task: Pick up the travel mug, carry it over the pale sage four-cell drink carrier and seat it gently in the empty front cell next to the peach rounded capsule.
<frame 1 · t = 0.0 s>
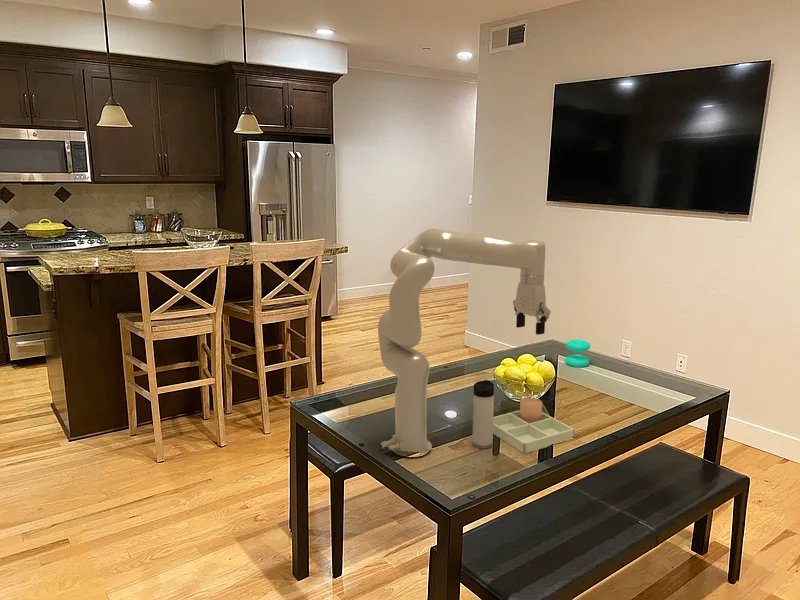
hand: (530, 330, 194), 31 cm above the table, fingers open, 9 cm apart
peach rounded capsule: (530, 424, 195), point 1 cm above the table, touching carrier
travel mug: (482, 444, 184), on the table
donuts: (576, 364, 255), on the table
carrier: (528, 435, 189), on the table
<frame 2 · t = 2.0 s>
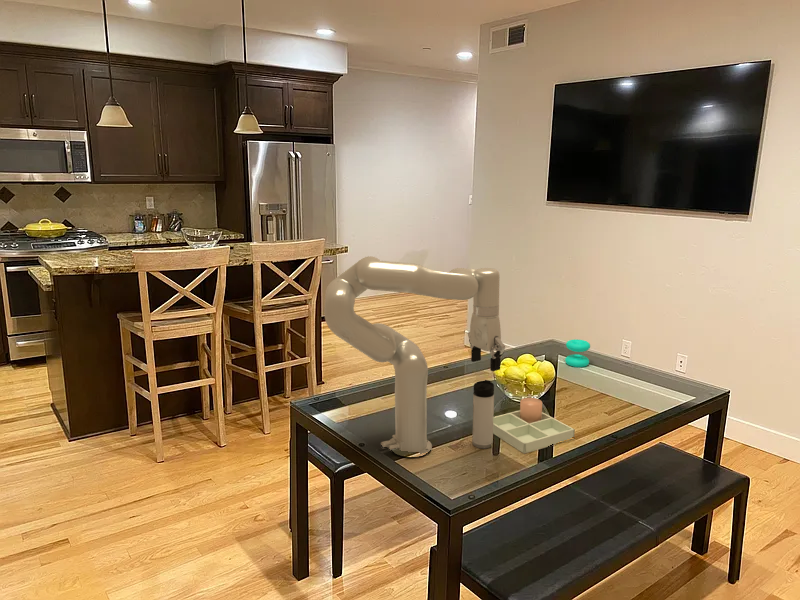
hand: (485, 365, 178), 26 cm above the table, fingers open, 9 cm apart
nothing on the table moved.
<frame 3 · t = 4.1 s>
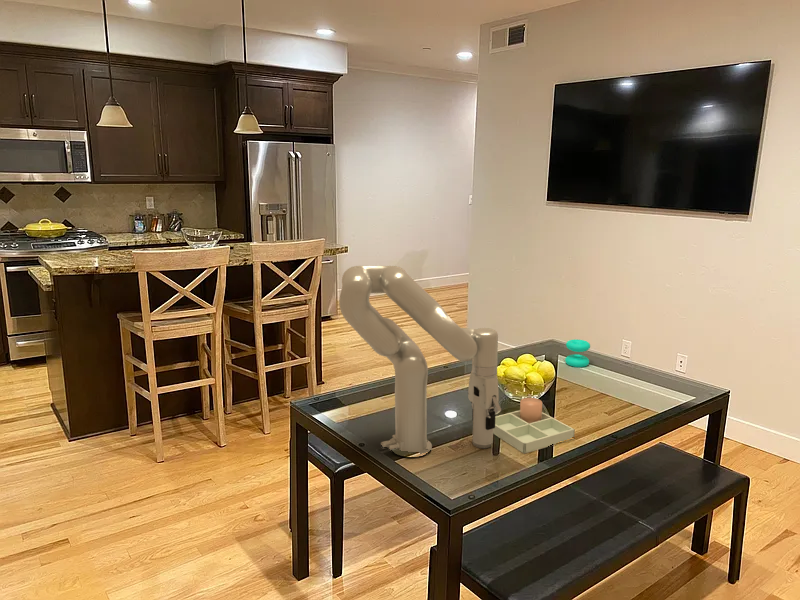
hand: (483, 423, 182), 7 cm above the table, fingers closed on travel mug, 6 cm apart
travel mug: (482, 444, 184), on the table, touching gripper
everything else where it was.
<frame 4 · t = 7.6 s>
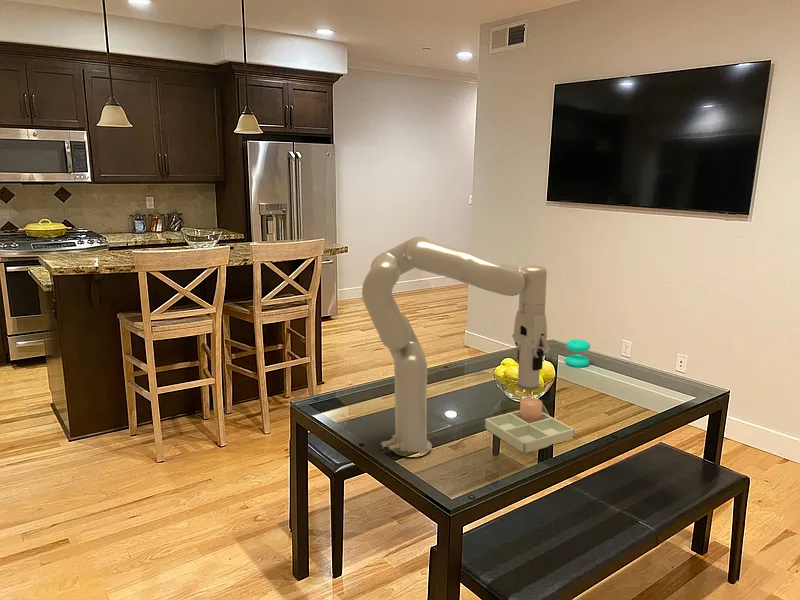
hand: (529, 365, 176), 26 cm above the table, fingers closed on travel mug, 6 cm apart
travel mug: (528, 387, 178), point 19 cm above the table, touching gripper
everything else where it was.
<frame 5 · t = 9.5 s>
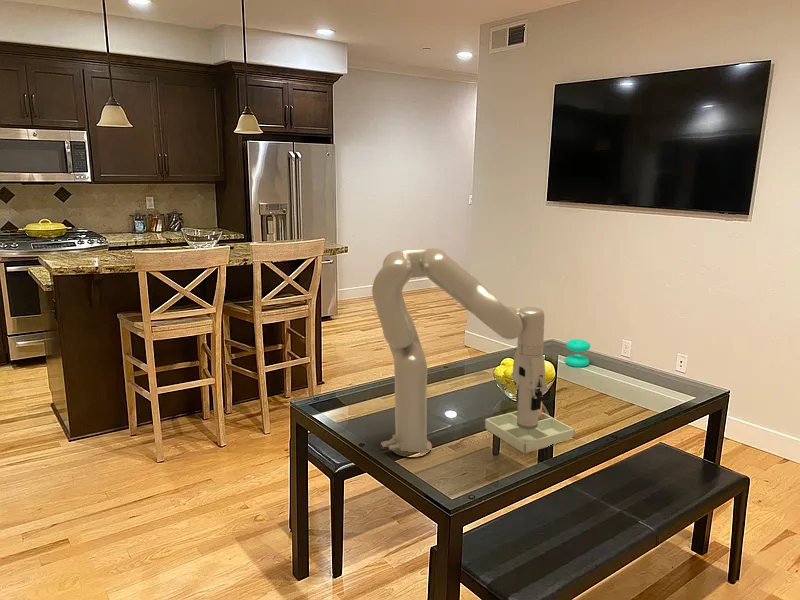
hand: (528, 404, 179), 13 cm above the table, fingers closed on travel mug, 6 cm apart
travel mug: (527, 425, 181), point 6 cm above the table, touching gripper
everything else where it was.
when the fingers open (8 cm above the table, at t = 11.1 s): travel mug stays where it is, resting on carrier.
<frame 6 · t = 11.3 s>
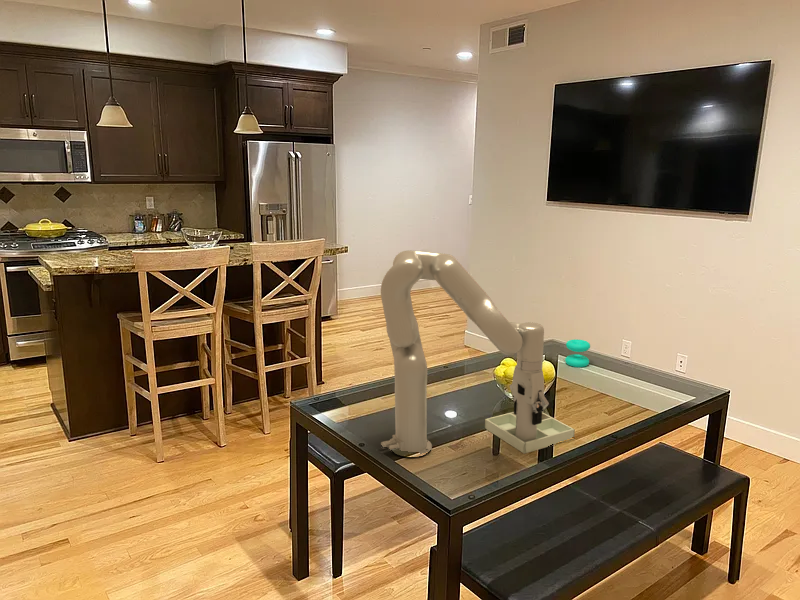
hand: (527, 418, 180), 9 cm above the table, fingers open, 8 cm apart
travel mug: (525, 443, 182), point 1 cm above the table, touching carrier
everything else where it was.
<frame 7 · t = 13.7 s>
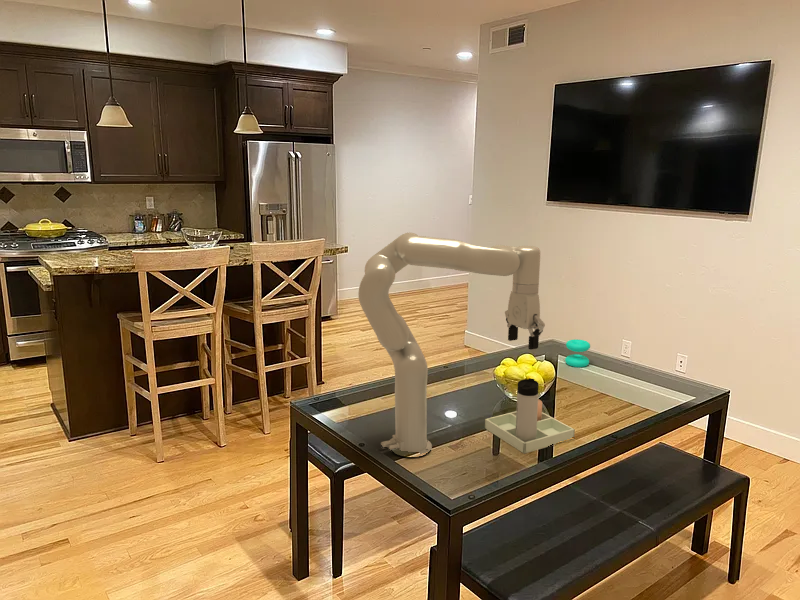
hand: (522, 344, 177), 32 cm above the table, fingers open, 9 cm apart
nothing on the table moved.
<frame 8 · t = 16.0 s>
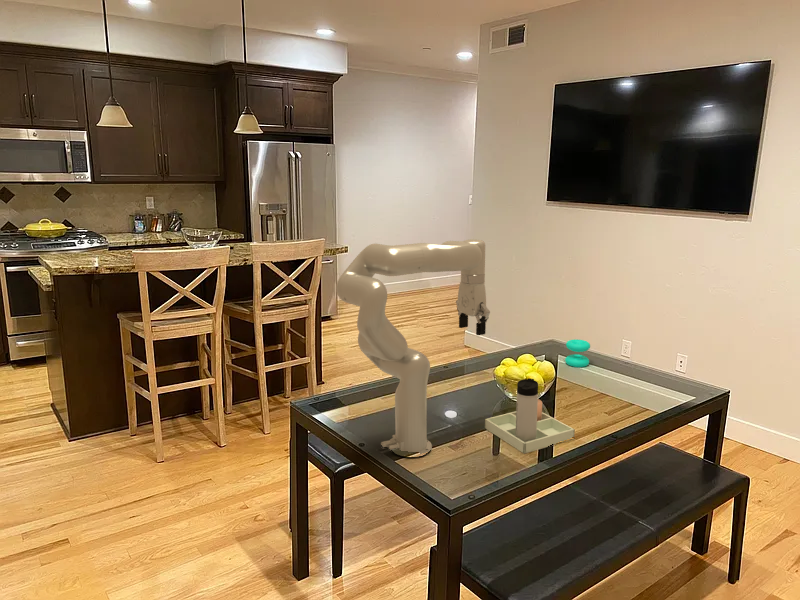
hand: (471, 330, 191), 32 cm above the table, fingers open, 9 cm apart
nothing on the table moved.
at the end: travel mug 0.2 cm from the target spot on the carrier, point 0.6 cm above the carrier's base; travel mug tilted 0°; the gripper is holding nothing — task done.
